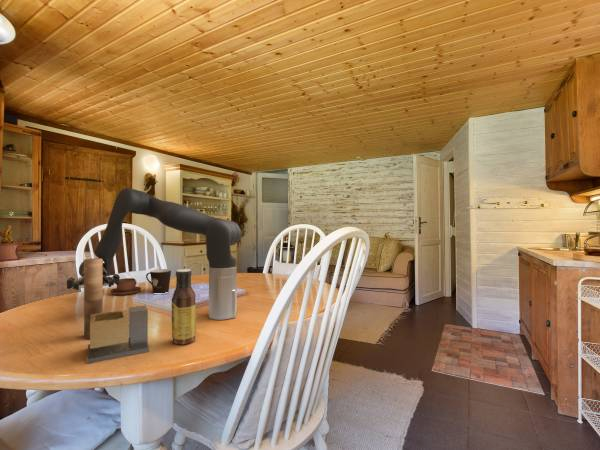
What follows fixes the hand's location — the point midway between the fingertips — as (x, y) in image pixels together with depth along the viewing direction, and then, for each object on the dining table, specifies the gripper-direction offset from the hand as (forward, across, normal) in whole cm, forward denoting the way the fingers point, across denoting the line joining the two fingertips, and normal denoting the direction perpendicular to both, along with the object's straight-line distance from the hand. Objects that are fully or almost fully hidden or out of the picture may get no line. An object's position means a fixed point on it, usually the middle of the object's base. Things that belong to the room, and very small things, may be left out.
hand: (94, 285), depth 97 cm
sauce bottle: (+26, +21, +13) cm, 36 cm away
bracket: (+23, +6, +13) cm, 27 cm away
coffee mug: (-39, +24, +13) cm, 47 cm away
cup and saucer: (-44, +11, +13) cm, 47 cm away
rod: (+9, 0, +13) cm, 16 cm away
